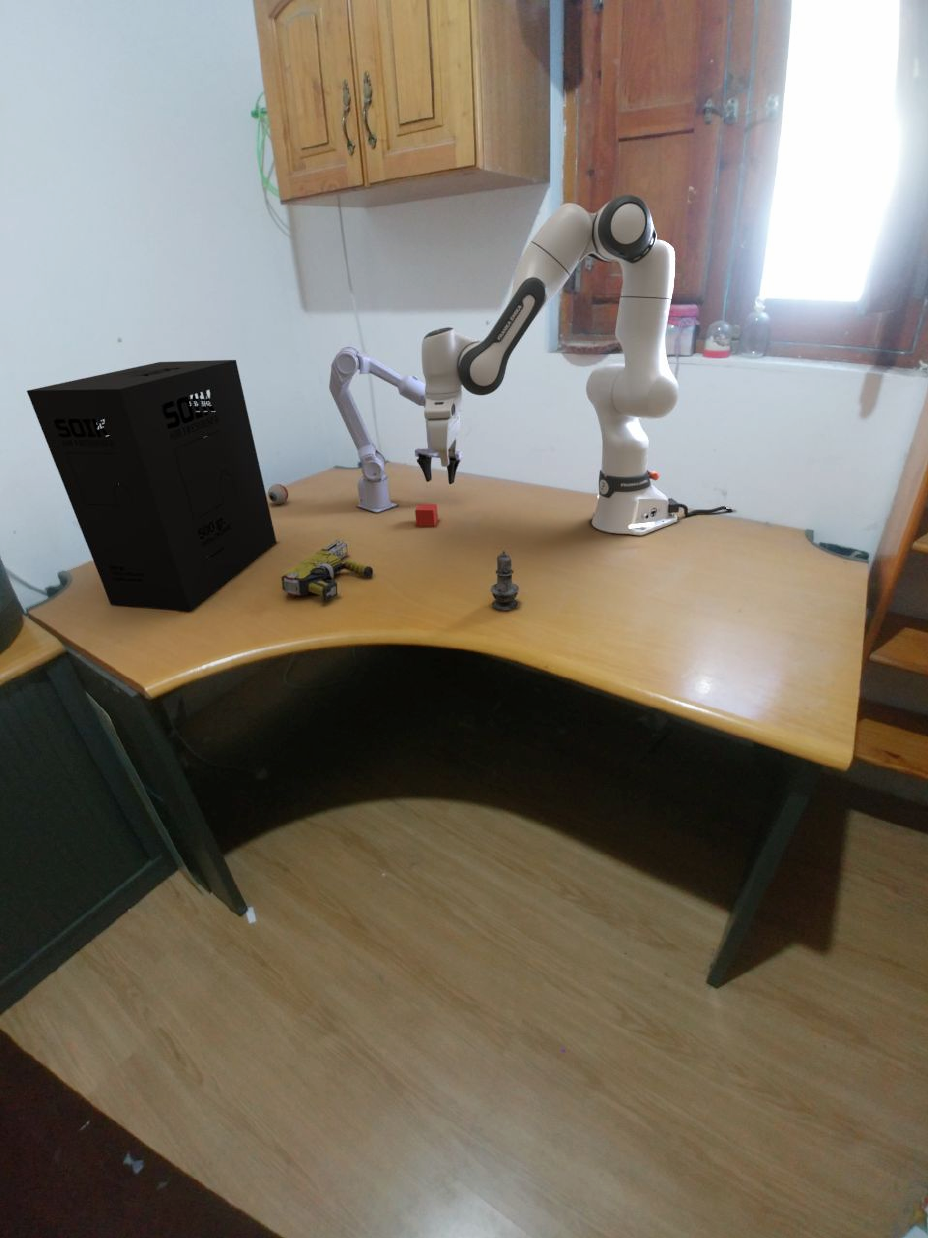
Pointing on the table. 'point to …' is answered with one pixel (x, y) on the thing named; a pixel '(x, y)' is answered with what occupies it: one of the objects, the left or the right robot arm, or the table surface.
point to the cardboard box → (160, 478)
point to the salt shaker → (504, 585)
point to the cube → (426, 515)
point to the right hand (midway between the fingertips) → (449, 460)
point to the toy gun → (321, 572)
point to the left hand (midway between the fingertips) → (440, 481)
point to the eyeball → (278, 493)
